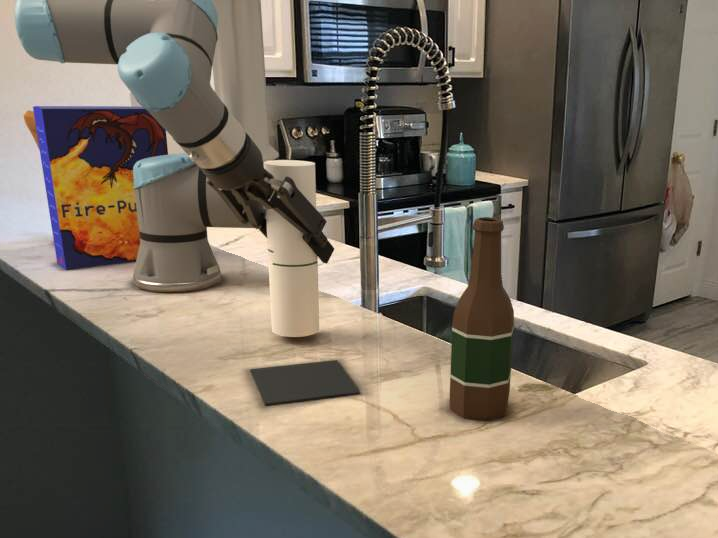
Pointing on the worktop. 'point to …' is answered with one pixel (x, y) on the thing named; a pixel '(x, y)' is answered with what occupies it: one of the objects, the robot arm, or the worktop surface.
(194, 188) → the robot arm
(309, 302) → the cylindrical container
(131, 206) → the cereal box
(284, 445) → the worktop surface
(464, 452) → the worktop surface
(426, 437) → the worktop surface
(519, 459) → the worktop surface
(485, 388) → the beer bottle
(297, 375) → the mat
